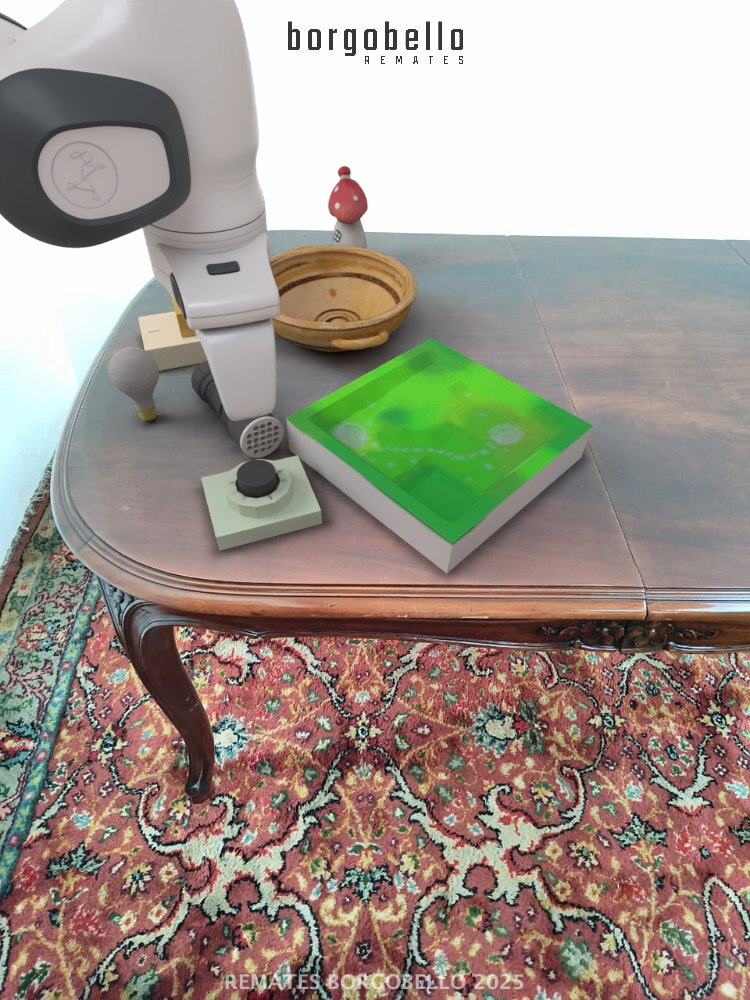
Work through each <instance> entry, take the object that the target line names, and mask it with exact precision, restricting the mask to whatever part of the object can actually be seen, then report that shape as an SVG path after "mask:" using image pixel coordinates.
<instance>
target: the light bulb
mask: <svg viewBox="0 0 750 1000" xmlns="http://www.w3.org/2000/svg"><path fill="white" fill-rule="evenodd" d="M107 372H108V376H109V378H110V381H111V383H112V384H113V386H114V387H115V388H116V389H118V390H119V391H120V392H121V393H123V394H124V395H125V396H127V397H128V398H129V399H131V400H132V402H133V404H134V407H135V409H136V410H137V414H138V416H139V417H138V418H139V419H140V420H142V421H144V422H150V421H152V420H153V421H154V419H156V418H157V415H158V413H157V410H156V406H155V400H154V393H155V389H156V387H157V384H158V382H159V379H160V378H159V377H160V371H159V369H158V366H157V363H156V361H155V360H154V358H153V357H152V356H151V355H150V354H149V353H148V352H147V351H145V349H143V348H140V347H135V346H127V347H122V348H121V349H118V350H116V351H115V352H114V353H113V355H112V356H111V358H110V359H109V362H108V371H107Z"/></svg>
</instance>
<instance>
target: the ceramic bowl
mask: <svg viewBox="0 0 750 1000" xmlns="http://www.w3.org/2000/svg"><path fill="white" fill-rule="evenodd" d="M270 260H271V267H272V271H273V274H274V277H275V280H276V284H277V288H278V292H279V298H280V315H279V316H277V317H274V318H271V319H272V323H273V328H274V335H275V336H277V337H279V338H281V339H283V340H284V341H286V342H288V343H291V344H293V345H297V346H301V347H303V348H307V349H312V350H316V351H320V352H326V353H327V352H328V353H340V352H341V353H342V352H346V351H354V350H355V351H358V350H363V349H367V348H373V347H378V346H381V345H383V344H385V343H386V342H387V341H388V340H389V335H391V334H392V333H393V332H394V331H395V330H397V329H398V328H399V327H400V326H401V325H402V323H404V321H405V319H406V318H407V317H408V315H409V313H410V310H411V309H412V308H411V307H412V305H413V302H414V301H415V299H416V296H417V294H418V282H417V278H416V276H415V275H414V274H413V272H412V271H411V270H410V268H408V266H406V265H405V264H404V263H403V262H401V261H400V260H397V259H396V258H395V257H392V256H390V255H388V254H385V253H382V252H380V251H376V250H373V249H369V248H367V249H365V248H360V247H352V246H341V245H332V244H325V245H309V244H308V245H307V244H306V245H304V244H303V245H299V246H296V247H294V248H292V249H290V250H286V251H284V252H280V253H278V254H276V255H273V256H270Z"/></svg>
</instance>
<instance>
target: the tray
mask: <svg viewBox="0 0 750 1000" xmlns="http://www.w3.org/2000/svg"><path fill="white" fill-rule="evenodd" d="M285 418H286V428H287V439H288V447H289V448H288V449H289V451H290V452H291V453H292V454H294V456H297V455H298V456H299V459H300V461H302V462H304V463H305V464H306V465H308V466H309V467H310V468H312V469H313V470H314V471H315V472H316V473H318V474H319V475H320V476H322V477H323V478H324V479H326V480H327V481H328V482H329V483H331V484H332V485H333V486H335V487H336V488H337V489H338V490H340V491H341V492H342V493H343V494H344V495H346V496H347V497H348V498H349V499H351V500H352V501H354V503H356V504H357V505H359V506H360V507H361V508H362V509H364V510H365V511H366V512H367V513H369V515H371V516H373V517H374V518H375V519H376V520H378V521H379V522H380V523H381V524H383V525H384V526H385V527H386V528H388V529H389V530H390V531H392V533H394V534H396V536H397V537H399V538H400V539H402V540H403V541H404V542H406V544H408V545H409V546H411V547H412V548H413V549H414V550H416V551H417V552H418V553H420V554H421V555H422V556H423V557H424V558H426V559H427V560H429V562H431V563H432V564H433V565H435V566H436V567H438V569H440V570H441V571H442V572H444V573H445V575H446V574H448V573H449V572H451V571H452V570H453V569H454V568H455V567H457V566H458V565H459V564H460V563H461V562H462V561H464V559H465V558H467V557H468V556H469V555H470V554H471V553H472V552H473V551H475V550H476V549H477V548H478V547H479V546H481V545H482V544H483V543H485V541H487V540H488V539H489V538H490V537H491V536H492V535H494V534H495V533H496V532H497V531H498V530H499V529H500V528H502V527H503V526H504V525H505V524H506V523H507V522H509V521H510V520H511V519H512V518H513V517H514V516H515V515H516V514H519V512H520V511H521V510H522V509H523V508H525V507H526V506H527V505H528V504H529V503H531V502H532V501H533V500H534V499H535V498H536V497H538V496H539V494H541V493H542V492H543V491H545V489H547V488H548V487H549V486H550V485H551V484H553V483H554V482H555V481H556V480H557V479H558V478H560V477H561V476H562V475H563V474H564V473H565V472H566V471H568V470H569V469H570V468H571V467H572V466H573V465H575V464H576V463H577V462H578V461H579V460H581V459H582V457H583V454H584V451H585V449H586V446H587V444H588V442H589V440H590V436H591V434H592V430H593V428H594V425H593V424H590V423H588V422H587V421H585V420H583V419H581V418H579V417H578V416H576V415H575V414H573V413H570V412H569V411H566V410H565V409H563V408H561V407H560V406H558V405H556V404H555V403H552V402H550V401H549V400H546V399H545V398H543V397H541V396H539V395H537V394H536V393H534V392H532V391H530V390H528V389H527V388H524V387H523V386H521V385H520V384H518V383H515V382H514V381H512V380H510V379H508V378H506V377H505V376H503V375H501V374H499V373H497V372H495V371H494V370H492V369H490V368H488V367H487V366H485V365H483V364H481V363H479V362H477V361H475V360H473V359H471V358H469V357H468V356H466V355H464V354H462V353H460V351H457V350H456V349H453V348H451V347H449V346H448V345H446V344H444V343H442V342H440V341H439V340H437V339H435V338H433V337H430V338H429V339H427V340H425V341H423V342H421V343H419V344H417V345H416V346H414V347H412V348H410V349H408V350H407V351H405V352H403V353H402V354H401V353H400V354H399V355H397V356H396V357H394V358H392V359H391V360H388V361H386V362H385V363H383V364H381V365H379V366H378V367H376V368H373V369H372V370H370V371H369V372H367V373H365V374H363V375H361V376H360V377H358V378H356V379H354V380H352V381H351V382H348V383H347V384H346V385H343V386H341V387H339V388H338V389H336V390H334V391H333V392H330V393H329V394H327V395H325V396H324V397H321V398H320V399H318V400H316V401H314V402H313V403H311V404H309V405H307V406H305V407H303V408H301V409H300V410H298V411H295V412H294V413H293V414H291V415H289V416H288V417H285Z"/></svg>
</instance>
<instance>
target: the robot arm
mask: <svg viewBox="0 0 750 1000" xmlns="http://www.w3.org/2000/svg"><path fill="white" fill-rule="evenodd" d="M248 46H249V45H248V41H247V37H246V32H245V29H244V26H243V21H242V18H241V15H240V11H239V8H238V5H237V4H236V1H235V0H64V1H63V2H62V3H61V4H60V5H59V6H57V7H56V8H55V9H54V10H52V12H50V13H49V14H48V15H46V16H45V17H44V18H42V19H41V20H40V21H38V22H37V23H35V24H33V25H32V26H30V27H29V28H27V27H26V26H25V25H23V24H22V23H20V22H18V21H16V20H15V19H14V18H12V17H10V16H8V15H6V14H4V13H2V12H0V216H2V218H3V219H5V220H6V221H7V222H8V223H9V224H10V225H12V226H13V228H15V229H17V230H18V231H20V232H21V233H23V234H25V235H26V236H29V237H30V238H32V239H34V240H36V241H39V242H41V243H45V244H47V245H51V246H55V247H60V248H66V249H84V248H91V247H96V246H99V245H100V246H101V245H103V244H106V243H109V242H111V241H113V240H116V239H119V238H121V237H124V236H127V235H129V234H131V233H134V232H136V231H138V230H141V229H142V233H143V236H144V241H145V244H146V249H147V253H148V256H149V262H150V266H151V270H152V273H153V277H154V278H155V280H156V281H157V282H158V284H160V285H161V286H163V287H164V288H165V290H166V291H167V292H168V294H169V295H170V297H171V296H172V297H173V298H174V300H175V301H176V303H177V304H178V306H179V308H180V310H181V312H182V314H183V317H184V319H186V321H187V324H188V326H189V328H190V329H192V330H195V331H196V333H197V335H198V337H199V340H200V342H201V344H202V347H203V350H204V352H205V355H206V358H207V361H208V364H209V366H210V369H211V372H212V375H213V378H214V381H215V384H216V387H217V390H218V393H219V396H220V399H221V402H222V405H223V407H224V410H225V412H226V414H227V416H228V418H229V419H231V420H233V421H238V420H244V419H249V418H254V417H259V416H263V415H267V414H269V413H272V412H273V411H274V409H275V406H276V403H277V351H276V335H275V333H274V328H273V323H272V319H271V318H274V317H277V316H279V315H280V298H279V292H278V288H277V284H276V280H275V277H274V274H273V271H272V267H271V260H270V258H271V250H270V241H269V236H268V225H267V224H268V223H267V211H266V203H265V202H266V201H265V195H264V193H263V190H262V188H261V185H260V182H259V178H258V173H257V157H258V156H257V155H258V150H259V144H260V129H259V120H258V109H257V100H256V91H255V83H254V77H253V76H254V75H253V69H252V64H251V63H252V62H251V57H250V52H249V47H248ZM172 297H171V298H172Z"/></svg>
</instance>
